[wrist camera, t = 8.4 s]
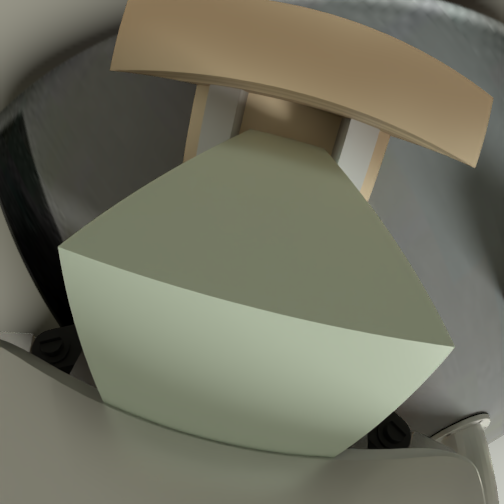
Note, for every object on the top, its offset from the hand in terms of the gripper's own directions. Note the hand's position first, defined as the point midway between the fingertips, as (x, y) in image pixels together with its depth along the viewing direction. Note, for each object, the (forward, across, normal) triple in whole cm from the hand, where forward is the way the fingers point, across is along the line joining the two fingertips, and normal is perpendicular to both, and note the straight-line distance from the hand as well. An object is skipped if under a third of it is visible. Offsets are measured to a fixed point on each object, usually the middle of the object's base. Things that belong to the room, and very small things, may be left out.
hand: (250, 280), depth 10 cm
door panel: (+3, 0, 0) cm, 3 cm away
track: (+5, 0, 0) cm, 5 cm away
